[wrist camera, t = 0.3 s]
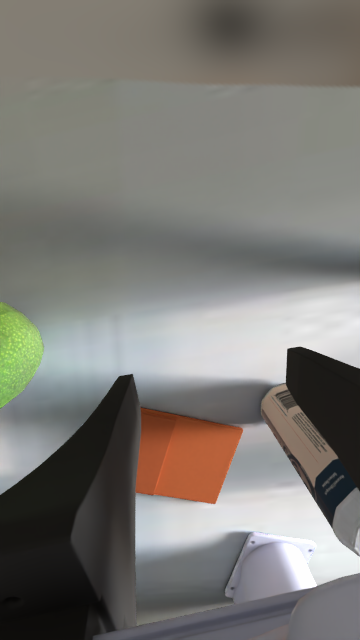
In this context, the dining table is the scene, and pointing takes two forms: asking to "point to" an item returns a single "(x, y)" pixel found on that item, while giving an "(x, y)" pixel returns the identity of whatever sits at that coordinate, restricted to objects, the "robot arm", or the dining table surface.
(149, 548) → the dining table surface
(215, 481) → the orange stepped block
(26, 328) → the avocado
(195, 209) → the dining table surface
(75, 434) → the robot arm
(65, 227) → the dining table surface
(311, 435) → the beer can
